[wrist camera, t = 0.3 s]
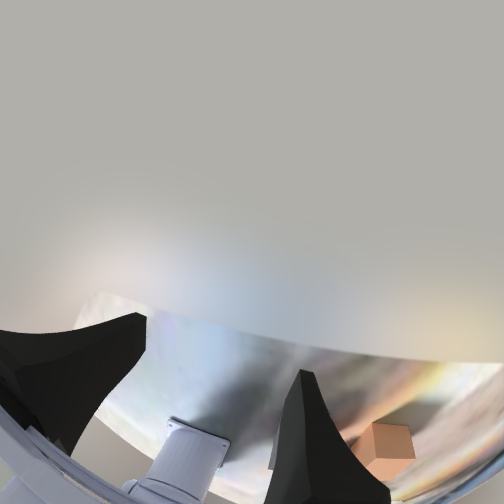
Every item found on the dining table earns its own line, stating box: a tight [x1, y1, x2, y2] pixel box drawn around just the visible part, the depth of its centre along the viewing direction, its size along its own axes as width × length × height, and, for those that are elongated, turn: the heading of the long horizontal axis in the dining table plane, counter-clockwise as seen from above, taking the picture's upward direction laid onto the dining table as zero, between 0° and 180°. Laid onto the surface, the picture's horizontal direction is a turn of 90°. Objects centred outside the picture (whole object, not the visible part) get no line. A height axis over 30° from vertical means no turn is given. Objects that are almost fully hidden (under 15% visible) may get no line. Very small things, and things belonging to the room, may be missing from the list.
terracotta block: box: [351, 423, 416, 481], centre depth 21 cm, size 5×5×5 cm
